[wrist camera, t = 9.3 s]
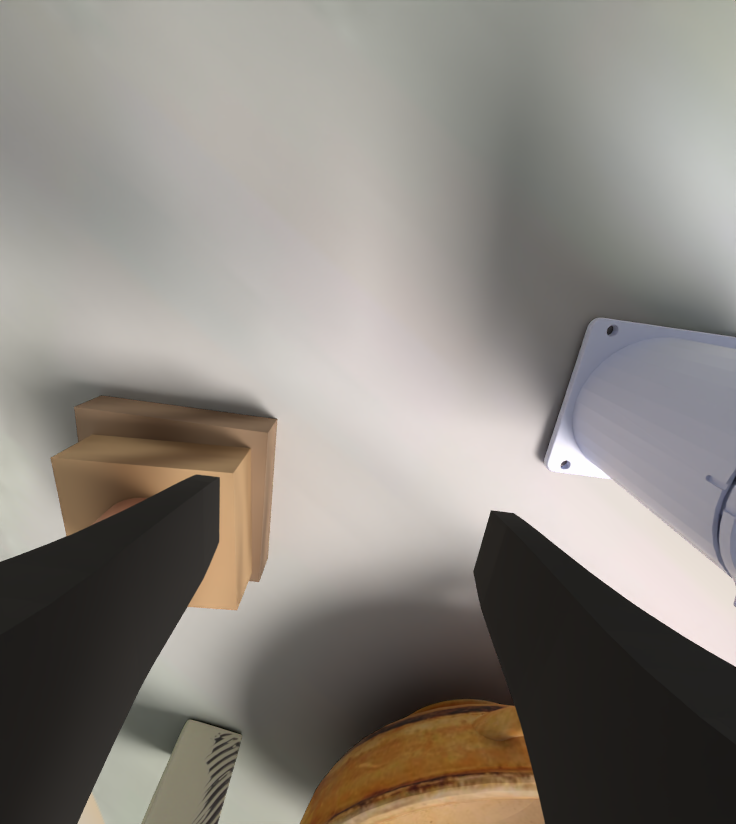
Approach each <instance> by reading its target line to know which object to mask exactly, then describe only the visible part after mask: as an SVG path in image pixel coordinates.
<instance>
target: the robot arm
mask: <svg viewBox="0 0 736 824" xmlns="http://www.w3.org/2000/svg"><path fill="white" fill-rule="evenodd" d="M611 325H612V326H613V331H612V333H611V334H609V335H608V334H607V329H608V328H609V327H610V326H611ZM563 461H567V463H566V464H565V465H564V466H561V463H562V462H563ZM544 465H545V467H546V468H547V469H548V470H550V471H552V472H558V473H566V474H574V475H581V476H589V477H597V478H605V479H612V480H614V481H615V482H616V483H617V484H619V485H620V486H621V487H622V488H623V489H625V490H626V491H627V492H628V493H629V494H631V495H632V496H633V497H634V498H636V499H637V500H638V501H639V502H640V503H642V504H643V505H644V506H645V507H646V508H648V509H649V510H650V511H651V512H653V513H654V514H655V515H656V516H657V517H659V518H660V519H661V520H662V521H663V522H665V523H666V524H667V525H668V526H670V527H671V528H672V529H673V530H674V531H676V532H677V533H678V534H679V535H680V536H682V537H683V538H684V539H685V540H687V541H688V542H689V543H690V544H691V545H693V546H694V547H695V548H696V549H697V550H699V551H700V552H701V553H702V554H704V555H705V556H706V557H707V558H708V559H710V560H711V561H712V562H713V563H714V564H716V565H717V566H718V567H719V568H721V569H722V570H723V571H724V572H725V573H727V574H728V575H729V576H730V577H732V578H733V580H734V582H735V584H736V337H732V336H725V335H718V334H711V333H704V332H697V331H691V330H684V329H677V328H670V327H663V326H656V325H650V324H643V323H636V322H629V321H622V320H615V319H609V318H602V317H601V318H596V319H593V320H592V321H591V322H590V323H589V325H588V327H587V330H586V333H585V336H584V339H583V342H582V345H581V349H580V352H579V355H578V358H577V361H576V364H575V367H574V370H573V373H572V376H571V379H570V382H569V385H568V388H567V391H566V394H565V398H564V401H563V404H562V407H561V410H560V413H559V416H558V419H557V422H556V425H555V428H554V431H553V434H552V437H551V440H550V443H549V446H548V450H547V453H546V456H545V459H544ZM219 523H220V477H214V476H206V475H198V474H196V475H193V476H191V477H189V478H187V479H185V480H182V481H180V482H178V483H176V484H174V485H172V486H171V487H169V488H167V489H165V490H163V491H161V492H159V493H157V494H155V495H153V496H151V497H149V498H147V499H145V500H143V501H141V502H139V503H137V504H135V505H133V506H131V507H129V508H127V509H125V510H123V511H121V512H119V513H117V514H115V515H112V516H110V517H108V518H106V519H104V520H102V521H100V522H97V523H95V524H93V525H91V526H89V527H87V528H84V529H82V530H80V531H78V532H76V533H73V534H71V535H69V536H66V537H64V538H61V539H59V540H57V541H54V542H52V543H49V544H47V545H44V546H42V547H39V548H36V549H34V550H31V551H28V552H26V553H23V554H21V555H18V556H15V557H13V558H10V559H7V560H4V561H1V562H0V824H77V823H78V821H79V819H80V816H81V814H82V812H83V809H84V807H85V805H86V803H87V800H88V798H89V796H90V794H91V792H92V790H93V787H94V785H95V783H96V781H97V779H98V777H99V774H100V772H101V770H102V768H103V766H104V764H105V761H106V759H107V757H108V755H109V753H110V750H111V748H112V746H113V744H114V742H115V740H116V738H117V735H118V733H119V731H120V729H121V727H122V725H123V723H124V721H125V719H126V717H127V715H128V713H129V710H130V708H131V706H132V704H133V702H134V700H135V698H136V696H137V694H138V692H139V690H140V688H141V686H142V684H143V682H144V680H145V679H146V677H147V675H148V673H149V671H150V669H151V667H152V666H153V664H154V662H155V661H156V659H157V657H158V656H159V654H160V652H161V650H162V649H163V647H164V645H165V644H166V642H167V640H168V639H169V637H170V635H171V634H172V632H173V630H174V628H175V627H176V625H177V623H178V622H179V620H180V618H181V617H182V615H183V613H184V612H185V610H186V608H187V606H188V605H189V603H190V601H191V600H192V598H193V596H194V594H195V593H196V591H197V589H198V588H199V586H200V584H201V582H202V581H203V579H204V577H205V575H206V572H207V570H208V568H209V566H210V563H211V561H212V559H213V556H214V554H215V551H216V549H217V547H218V544H219ZM473 572H474V577H475V582H476V587H477V592H478V597H479V601H480V606H481V610H482V613H483V616H484V619H485V622H486V625H487V628H488V631H489V633H490V636H491V639H492V642H493V645H494V648H495V651H496V654H497V656H498V659H499V662H500V665H501V668H502V671H503V673H504V676H505V679H506V682H507V685H508V688H509V690H510V693H511V696H512V699H513V702H514V705H515V708H516V711H517V715H518V718H519V721H520V724H521V728H522V732H523V736H524V739H525V743H526V747H527V751H528V755H529V759H530V763H531V767H532V771H533V775H534V778H535V783H536V787H537V791H538V795H539V800H540V804H541V808H542V813H543V817H544V821H545V824H736V667H735V666H733V665H731V664H730V663H728V662H726V661H724V660H723V659H721V658H719V657H717V656H716V655H714V654H712V653H710V652H709V651H707V650H705V649H704V648H702V647H700V646H699V645H697V644H695V643H694V642H692V641H690V640H689V639H687V638H685V637H684V636H682V635H680V634H679V633H677V632H676V631H674V630H673V629H671V628H670V627H668V626H666V625H665V624H663V623H662V622H660V621H659V620H657V619H656V618H654V617H652V616H651V615H649V614H648V613H646V612H645V611H643V610H642V609H640V608H639V607H637V606H636V605H634V604H633V603H632V602H630V601H629V600H627V599H626V598H624V597H623V596H622V595H620V594H619V593H618V592H616V591H615V590H613V589H612V588H611V587H609V586H608V585H606V584H605V583H604V582H602V581H601V580H600V579H598V578H597V577H596V576H594V575H593V574H592V573H590V572H589V571H588V570H586V569H585V568H584V567H583V566H581V565H580V564H579V563H577V562H576V561H575V560H574V559H572V558H571V557H570V556H568V555H567V554H566V553H565V552H563V551H562V550H561V549H560V548H558V547H557V546H556V545H555V544H553V543H552V542H551V541H550V540H548V539H547V538H546V537H545V536H543V535H542V534H541V533H540V532H538V531H537V530H536V529H535V528H533V527H532V526H531V525H529V524H528V523H527V522H525V521H524V520H523V519H521V518H520V517H518V516H517V515H515V514H514V513H508V512H500V511H491V512H490V516H489V519H488V523H487V526H486V530H485V533H484V537H483V540H482V544H481V547H480V551H479V554H478V557H477V561H476V564H475V568H474V571H473ZM734 606H735V607H736V597H735V600H734Z"/></svg>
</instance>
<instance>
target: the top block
mask: <svg viewBox="0 0 736 824" xmlns="http://www.w3.org/2000/svg"><path fill="white" fill-rule="evenodd" d="M51 462H52V467H53V472H54V477H55V482H56V487H57V492H58V497H59V501H60V506H61V511H62V516H63V521H64V526H65V531H66V536H69V535H71V534H73V533H76V532H78V531H80V530H82V529H84V528H87V527H89V526H91V525H92V524H93V523H94V522H95V521H96V520H97V519H98V518H99V517H101V516H102V515H103V514H104V513H105V512H106V511H107V510H108V509H110V508H111V507H112V506H113V505H115V504H116V503H118V502H121V501H123V500H127V499H131V498H149V497H151V496H153V495H155V494H157V493H159V492H161V491H163V490H165V489H167V488H169V487H171V486H172V485H174V484H176V483H178V482H180V481H182V480H185V479H187V478H189V477H191V476H193V475H196V474H198V475H206V476H214V477H220V523H219V544H218V547H217V549H216V551H215V554H214V556H213V559H212V561H211V563H210V566H209V568H208V570H207V572H206V575H205V577H204V579H203V581H202V582H201V584H200V586H199V588H198V589H197V591H196V593H195V594H194V596H193V598H192V600H191V601H190V603H189V605H188V606H187V607H199V608H213V609H227V610H237V609H238V606H239V604H240V601H241V599H242V596H243V594H244V591H245V589H246V586H247V584H248V581H249V579H250V576H251V574H252V520H251V448H244V447H232V446H221V445H209V444H198V443H186V442H175V441H163V440H151V439H140V438H128V437H117V436H105V435H93V434H92V435H91V436H89V437H87V438H85V439H83V440H82V441H80V442H78V443H76V444H74V445H73V446H71V447H69V448H67V449H66V450H64V451H62V452H60V453H58V454H57V455H55V456H53V457H51Z"/></svg>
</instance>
